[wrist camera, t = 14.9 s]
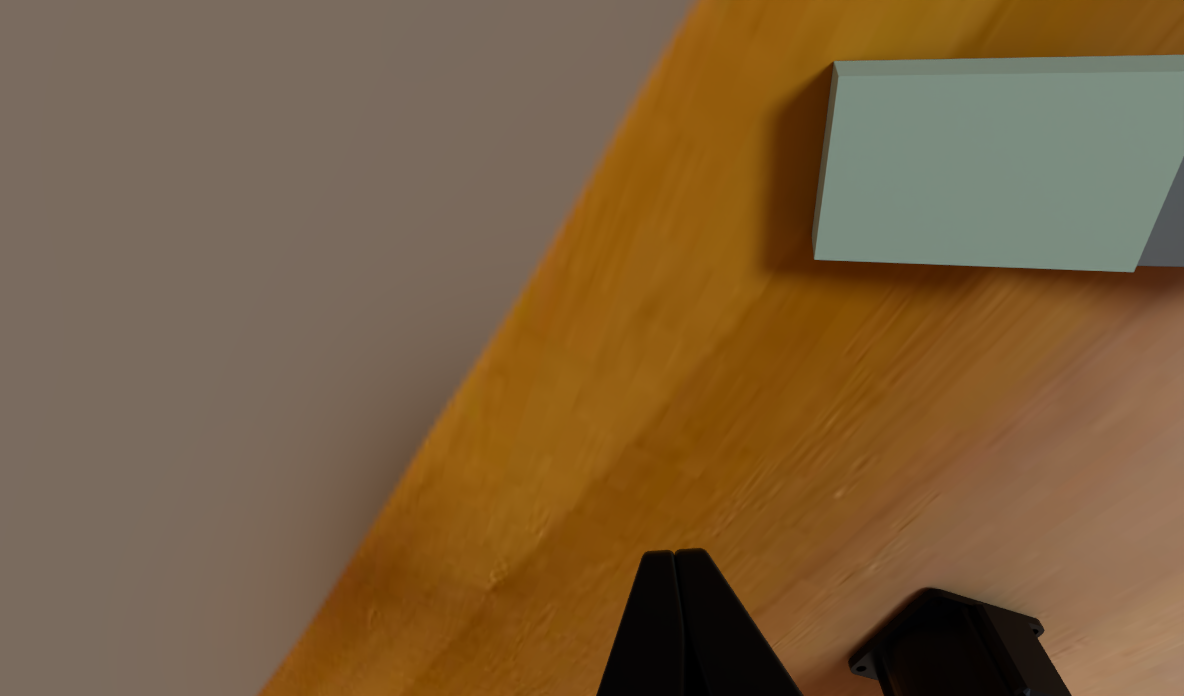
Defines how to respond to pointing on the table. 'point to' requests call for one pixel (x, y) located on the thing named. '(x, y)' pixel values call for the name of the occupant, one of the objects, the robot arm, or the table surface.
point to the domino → (1168, 229)
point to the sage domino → (999, 160)
